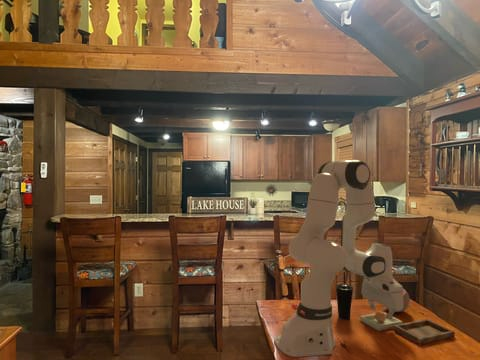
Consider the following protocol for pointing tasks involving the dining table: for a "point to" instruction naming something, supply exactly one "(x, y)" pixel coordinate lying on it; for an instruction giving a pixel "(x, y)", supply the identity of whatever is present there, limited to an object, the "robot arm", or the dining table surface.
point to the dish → (424, 331)
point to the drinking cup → (344, 300)
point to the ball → (380, 316)
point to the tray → (379, 326)
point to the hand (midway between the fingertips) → (380, 313)
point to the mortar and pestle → (405, 300)
